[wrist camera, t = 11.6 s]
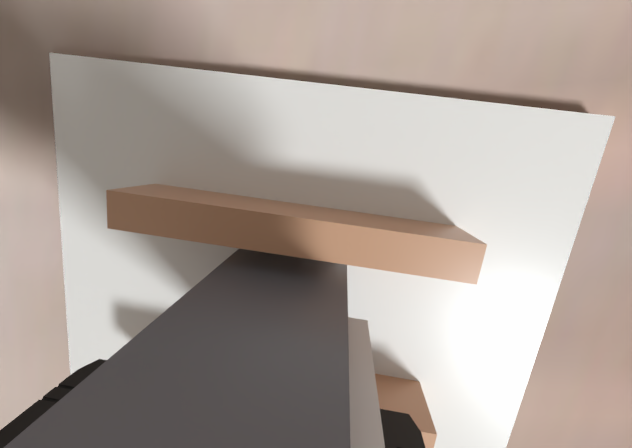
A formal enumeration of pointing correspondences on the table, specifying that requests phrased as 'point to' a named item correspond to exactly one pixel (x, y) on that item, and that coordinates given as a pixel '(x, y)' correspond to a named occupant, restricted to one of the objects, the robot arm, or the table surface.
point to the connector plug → (222, 367)
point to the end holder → (327, 217)
